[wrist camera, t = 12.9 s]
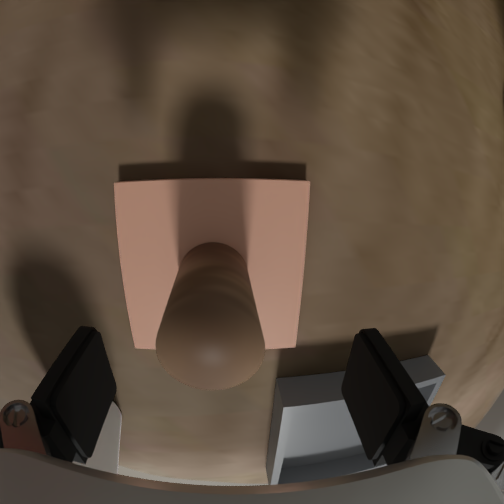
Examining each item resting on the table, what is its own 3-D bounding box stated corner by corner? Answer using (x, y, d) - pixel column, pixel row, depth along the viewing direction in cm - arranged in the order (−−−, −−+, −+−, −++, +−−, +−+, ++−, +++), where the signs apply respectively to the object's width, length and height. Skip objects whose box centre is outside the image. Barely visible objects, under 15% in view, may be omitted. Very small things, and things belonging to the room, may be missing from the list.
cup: (94, 364, 22) (46, 474, 10) (151, 427, 24) (135, 528, 13) (38, 381, 22) (-8, 465, 11) (91, 436, 25) (66, 518, 13)
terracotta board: (305, 180, 18) (310, 181, 17) (292, 339, 22) (295, 347, 21) (119, 181, 17) (114, 182, 16) (138, 340, 21) (135, 348, 20)
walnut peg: (248, 241, 18) (268, 302, 11) (247, 305, 20) (262, 388, 12) (177, 242, 18) (148, 303, 10) (181, 306, 19) (163, 389, 12)
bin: (427, 354, 25) (445, 374, 22) (384, 445, 30) (393, 463, 27) (276, 378, 23) (283, 407, 20) (265, 467, 28) (269, 490, 25)
